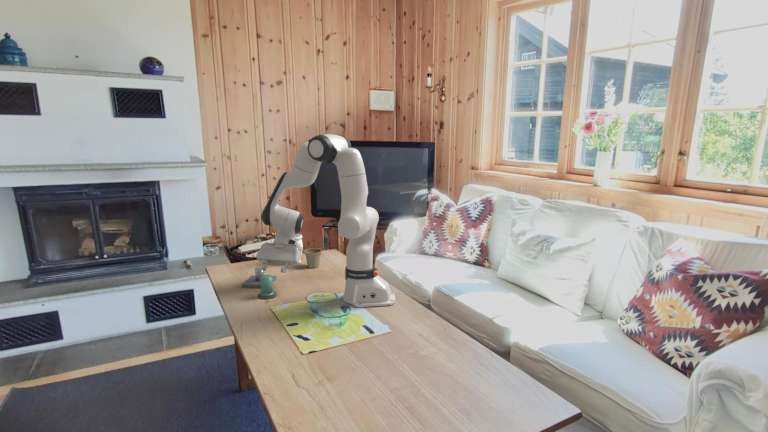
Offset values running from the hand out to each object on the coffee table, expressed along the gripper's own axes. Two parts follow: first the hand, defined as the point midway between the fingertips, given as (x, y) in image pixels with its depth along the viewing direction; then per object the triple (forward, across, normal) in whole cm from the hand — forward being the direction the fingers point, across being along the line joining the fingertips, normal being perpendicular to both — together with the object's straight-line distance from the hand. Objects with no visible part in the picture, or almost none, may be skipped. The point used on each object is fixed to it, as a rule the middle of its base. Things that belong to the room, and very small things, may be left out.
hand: (272, 271), depth 183 cm
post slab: (+1, -12, +12) cm, 17 cm away
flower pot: (-20, +1, +34) cm, 39 cm away
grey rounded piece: (0, -12, +11) cm, 16 cm away
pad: (+10, 0, +4) cm, 11 cm away
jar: (-22, -12, +36) cm, 44 cm away
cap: (+10, 0, +3) cm, 10 cm away
